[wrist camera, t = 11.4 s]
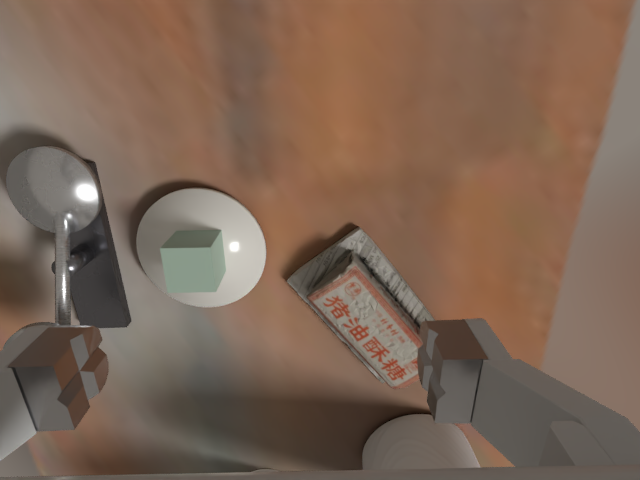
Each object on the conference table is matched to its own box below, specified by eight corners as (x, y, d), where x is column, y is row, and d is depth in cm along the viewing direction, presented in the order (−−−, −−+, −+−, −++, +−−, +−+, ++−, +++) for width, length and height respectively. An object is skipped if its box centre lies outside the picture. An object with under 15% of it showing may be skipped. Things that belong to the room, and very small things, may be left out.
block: (176, 230, 40) (159, 248, 35) (221, 229, 40) (210, 247, 35) (182, 271, 41) (167, 293, 37) (226, 270, 41) (216, 292, 37)
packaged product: (464, 361, 42) (387, 407, 45) (450, 334, 47) (381, 377, 49) (363, 239, 37) (282, 298, 39) (358, 222, 41) (286, 275, 44)
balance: (21, 142, 38) (-75, 162, 28) (106, 140, 38) (37, 160, 28) (78, 337, 46) (17, 402, 37) (147, 335, 46) (105, 400, 37)
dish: (131, 186, 39) (124, 190, 38) (262, 184, 39) (260, 187, 38) (154, 301, 44) (148, 308, 43) (271, 298, 44) (269, 305, 43)
